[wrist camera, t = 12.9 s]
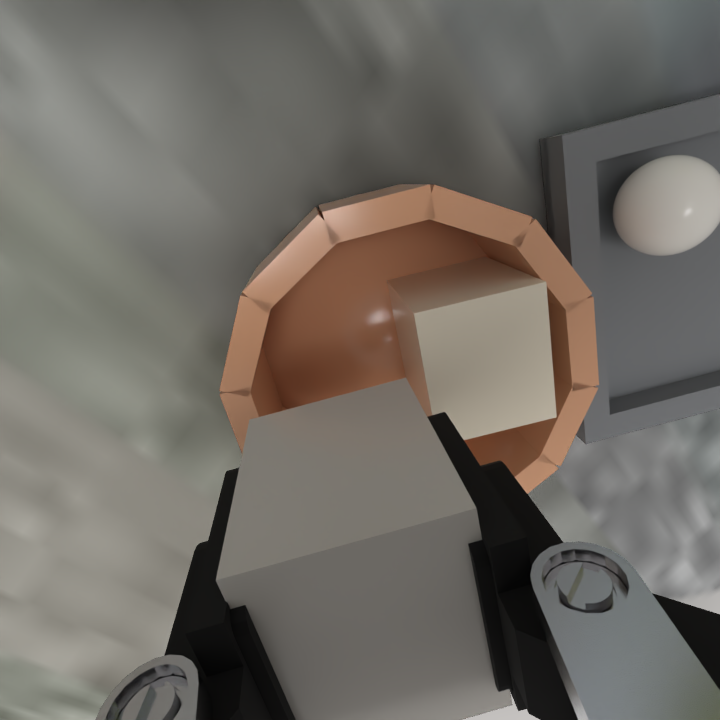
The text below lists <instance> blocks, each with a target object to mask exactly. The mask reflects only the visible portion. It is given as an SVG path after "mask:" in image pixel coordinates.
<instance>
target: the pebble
mask: <svg viewBox="0 0 720 720" xmlns="http://www.w3.org/2000/svg"><path fill="white" fill-rule="evenodd" d="M613 222H614V226H615V228H616V231H617V233H618V235H619V236H620V238H621V239H622V240H623V241H624V242H625V243H626V244H627V245H628V246H629V247H631V248H633V249H634V250H636V251H638V252H641V253H644V254H647V255H654V256H668V255H674V254H678V253H681V252H685V251H687V250H689V249H691V248H693V247H695V246H697V245H698V244H700V243H701V242H703V241H704V240H705V239H706V238H707V237H708V236H710V235H711V234H712V232H713V231H714V230H715V229H716V227H717V226H718V224H719V223H720V174H719V172H718V171H717V170H716V169H715V168H714V167H713V166H712V165H710V164H709V163H708V162H706V161H704V160H702V159H700V158H697V157H693V156H688V155H670V156H665V157H660V158H657V159H655V160H652V161H650V162H648V163H646V164H644V165H643V166H641V167H639V168H638V169H637V170H635V171H634V172H633V173H632V174H631V175H630V176H629V177H628V178H627V179H626V180H625V181H624V183H623V184H622V186H621V187H620V189H619V191H618V193H617V195H616V198H615V201H614V205H613Z"/></svg>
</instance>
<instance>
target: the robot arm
mask: <svg viewBox="0 0 720 720" xmlns="http://www.w3.org/2000/svg"><path fill="white" fill-rule="evenodd" d="M427 418H428V419H429V421H430V423H431V425H432V427H433V429H434V430H435V432H436V434H437V436H438V438H439V440H440V442H441V443H442V445H443V447H444V449H445V451H446V453H447V455H448V456H449V458H450V460H451V462H452V464H453V466H454V467H455V469H456V471H457V473H458V475H459V477H460V479H461V480H462V482H463V484H464V486H465V488H466V490H467V492H468V493H469V495H470V497H471V499H472V501H473V503H474V505H475V506H476V508H477V514H478V519H479V525H480V530H481V536H482V540H479V541H476V542H472V543H468V546H469V551H470V556H471V561H472V567H473V572H474V577H475V582H476V587H477V592H478V597H479V603H480V608H481V613H482V618H483V623H484V628H485V633H486V638H487V644H488V649H489V654H490V659H491V664H492V669H493V674H494V680H495V685H496V688H497V690H498V691H499V692H501V691H504V690H508V689H510V692H511V694H512V697H513V699H514V701H515V704H516V706H517V709H518V711H520V710H524V709H527V710H528V712H529V714H531V715H533V716H535V717H536V718H538V719H540V720H720V614H717V613H713V612H710V611H707V610H704V609H701V608H697V607H694V606H691V605H688V604H685V603H681V602H678V601H675V600H672V599H669V598H666V597H662V596H659V595H656V594H653V593H651V591H650V590H649V588H648V587H647V586H646V584H645V583H644V581H643V580H642V578H641V577H640V576H639V574H638V573H637V571H636V570H635V569H634V568H633V567H632V565H631V564H630V563H629V562H628V561H627V560H626V559H625V558H623V557H622V556H620V555H619V554H617V553H615V552H614V551H612V550H611V549H608V548H605V547H602V546H600V545H597V544H592V543H585V542H566V543H563V541H562V540H561V539H560V537H559V536H558V535H557V533H556V532H555V531H554V529H553V528H552V527H551V525H550V524H549V523H548V521H547V520H546V519H545V517H544V516H543V515H542V513H541V512H540V511H539V509H538V508H537V507H536V505H535V504H534V502H533V501H532V500H531V498H530V497H529V496H528V494H527V493H526V492H525V490H524V489H523V488H522V486H521V485H520V484H519V482H518V481H517V480H516V478H515V477H514V476H513V474H512V473H511V472H510V470H509V469H508V468H507V466H506V465H505V464H504V463H503V462H502V461H500V460H499V461H495V462H492V463H488V464H485V465H481V466H480V464H479V463H478V461H477V460H476V458H475V457H474V455H473V454H472V452H471V451H470V449H469V447H468V446H467V444H466V443H465V441H464V440H463V438H462V437H461V435H460V434H459V432H458V431H457V429H456V427H455V426H454V424H453V423H452V421H451V420H450V418H449V417H448V415H447V414H446V413H445V412H442V413H439V414H435V415H431V416H428V417H427ZM238 472H239V468H237V469H233V470H229V471H227V472H226V474H225V477H224V481H223V485H222V489H221V493H220V497H219V501H218V505H217V509H216V513H215V517H214V520H213V524H212V528H211V532H210V536H209V540H208V541H206V542H202V543H200V544H198V545H197V547H196V549H195V551H194V555H193V558H192V562H191V565H190V569H189V572H188V575H187V579H186V582H185V586H184V589H183V593H182V596H181V600H180V603H179V607H178V610H177V614H176V617H175V621H174V624H173V628H172V631H171V635H170V638H169V642H168V645H167V649H166V652H165V656H162V657H158V658H155V659H153V660H151V661H149V662H147V663H145V664H143V665H141V666H139V667H138V668H137V669H135V670H134V671H133V672H131V673H130V674H129V675H127V676H126V677H125V678H124V679H123V680H122V681H121V682H120V683H119V684H118V685H117V686H116V687H115V688H114V689H113V690H112V691H111V693H110V694H109V696H108V697H107V699H106V700H105V702H104V703H103V705H102V706H101V708H100V710H99V713H98V715H97V717H96V720H296V719H295V717H294V715H293V712H292V710H291V708H290V705H289V703H288V701H287V699H286V696H285V694H284V692H283V690H282V687H281V685H280V683H279V680H278V678H277V676H276V674H275V671H274V669H273V667H272V665H271V662H270V660H269V658H268V655H267V653H266V651H265V649H264V646H263V644H262V642H261V639H260V637H259V635H258V633H257V630H256V628H255V626H254V624H253V621H252V619H251V617H250V614H249V612H248V610H247V608H246V605H243V606H240V607H236V608H232V609H230V606H229V604H228V602H226V601H225V599H224V597H223V595H222V593H221V590H220V588H219V586H218V584H217V582H216V577H217V572H218V567H219V563H220V558H221V553H222V548H223V543H224V539H225V534H226V529H227V524H228V520H229V515H230V510H231V505H232V500H233V496H234V491H235V486H236V481H237V477H238Z"/></svg>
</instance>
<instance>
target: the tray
mask: <svg viewBox="0 0 720 720" xmlns="http://www.w3.org/2000/svg"><path fill="white" fill-rule="evenodd" d="M540 148H541V159H542V169H543V180H544V191H545V202H546V213H547V223H548V234H549V237H550V238H551V240H552V241H553V242H554V244H555V245H556V246H557V248H558V249H559V250H560V252H561V253H562V254H563V255H564V257H565V258H566V259H567V261H568V262H569V263H570V265H571V266H572V267H573V269H574V270H575V271H576V273H577V274H578V275H579V277H580V278H581V279H582V280H583V282H584V283H585V284H586V286H587V287H588V288H589V290H590V291H591V292H592V294H591V295H590V296H592V297H594V311H595V327H596V343H597V359H598V375H599V385H596V387H597V388H598V390H597V392H596V394H595V396H594V398H593V400H592V402H591V404H590V407H589V409H588V411H587V413H586V415H585V417H584V419H583V421H582V423H581V425H580V427H579V429H578V431H577V433H576V435H577V436H578V437H579V438H580V439H581V440H582V441H583V442H584V443H585V444H588V443H592V442H596V441H599V440H603V439H607V438H611V437H615V436H618V435H622V434H626V433H630V432H633V431H637V430H641V429H645V428H648V427H652V426H656V425H660V424H664V423H667V422H671V421H675V420H679V419H682V418H686V417H690V416H694V415H697V414H701V413H705V412H709V411H713V410H716V409H720V223H719V224H718V226H717V227H716V229H715V230H714V231H713V232H712V234H711V235H710V236H708V237H707V238H706V239H705V240H704V241H703V242H701V243H700V244H698V245H697V246H695V247H693V248H691V249H689V250H687V251H685V252H681V253H678V254H674V255H668V256H654V255H647V254H644V253H641V252H638V251H636V250H634V249H633V248H631V247H629V246H628V245H627V244H626V243H625V242H624V241H623V240H622V239H621V238H620V236H619V235H618V233H617V231H616V228H615V226H614V222H613V205H614V201H615V198H616V195H617V193H618V191H619V189H620V187H621V186H622V184H623V183H624V181H625V180H626V179H627V178H628V177H629V176H630V175H631V174H632V173H633V172H634V171H635V170H637V169H638V168H639V167H641V166H643V165H644V164H646V163H648V162H650V161H652V160H655V159H657V158H660V157H665V156H670V155H688V156H693V157H697V158H700V159H702V160H704V161H706V162H708V163H709V164H710V165H712V166H713V167H714V168H715V169H716V170H717V171H718V172H719V174H720V93H719V94H715V95H711V96H707V97H704V98H700V99H696V100H692V101H688V102H684V103H680V104H676V105H672V106H668V107H664V108H660V109H657V110H653V111H649V112H645V113H641V114H637V115H633V116H629V117H625V118H621V119H617V120H614V121H610V122H606V123H602V124H598V125H594V126H590V127H586V128H582V129H578V130H574V131H571V132H567V133H563V134H559V135H555V136H551V137H547V138H543V139H540Z"/></svg>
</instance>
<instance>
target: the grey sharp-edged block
mask: <svg viewBox="0 0 720 720" xmlns="http://www.w3.org/2000/svg"><path fill="white" fill-rule="evenodd" d="M479 540H482V536H481V530H480V525H479V519H478V514H477V508H476V506H475V505H474V503H473V501H472V499H471V497H470V495H469V493H468V492H467V490H466V488H465V486H464V484H463V482H462V480H461V479H460V477H459V475H458V473H457V471H456V469H455V467H454V466H453V464H452V462H451V460H450V458H449V456H448V455H447V453H446V451H445V449H444V447H443V445H442V443H441V442H440V440H439V438H438V436H437V434H436V432H435V430H434V429H433V427H432V425H431V423H430V421H429V419H428V418H427V416H426V414H425V412H424V410H423V408H422V406H421V405H420V403H419V401H418V399H417V397H416V395H415V393H414V392H413V390H412V388H411V386H410V384H409V382H408V380H407V379H406V378H402V379H399V380H395V381H391V382H388V383H384V384H380V385H376V386H373V387H369V388H365V389H362V390H358V391H354V392H350V393H347V394H343V395H339V396H336V397H332V398H328V399H324V400H321V401H317V402H313V403H310V404H306V405H302V406H298V407H295V408H291V409H287V410H284V411H280V412H276V413H272V414H269V415H265V416H261V417H258V418H254V419H250V420H249V424H248V429H247V434H246V438H245V443H244V448H243V453H242V457H241V462H240V467H239V472H238V477H237V481H236V486H235V491H234V496H233V500H232V505H231V510H230V515H229V520H228V524H227V529H226V534H225V539H224V543H223V548H222V553H221V558H220V563H219V567H218V572H217V577H216V582H217V584H218V586H219V588H220V590H221V593H222V595H223V597H224V599H225V601H226V602H228V604H229V606H230V609H232V608H236V607H240V606H243V605H246V608H247V610H248V612H249V614H250V617H251V619H252V621H253V624H254V626H255V628H256V630H257V633H258V635H259V637H260V639H261V642H262V644H263V646H264V649H265V651H266V653H267V655H268V658H269V660H270V662H271V665H272V667H273V669H274V671H275V674H276V676H277V678H278V680H279V683H280V685H281V687H282V690H283V692H284V694H285V696H286V699H287V701H288V703H289V705H290V708H291V710H292V712H293V715H294V717H295V719H296V720H462V719H466V718H468V717H473V716H476V715H479V714H483V713H486V712H490V711H493V710H497V709H500V708H504V707H507V706H510V705H512V700H511V695H510V689H508V690H504V691H501V692H499V691H498V690H497V688H496V685H495V680H494V674H493V669H492V664H491V659H490V654H489V649H488V644H487V638H486V633H485V628H484V623H483V618H482V613H481V608H480V603H479V597H478V592H477V587H476V582H475V577H474V572H473V567H472V561H471V556H470V551H469V546H468V543H472V542H476V541H479Z"/></svg>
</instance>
